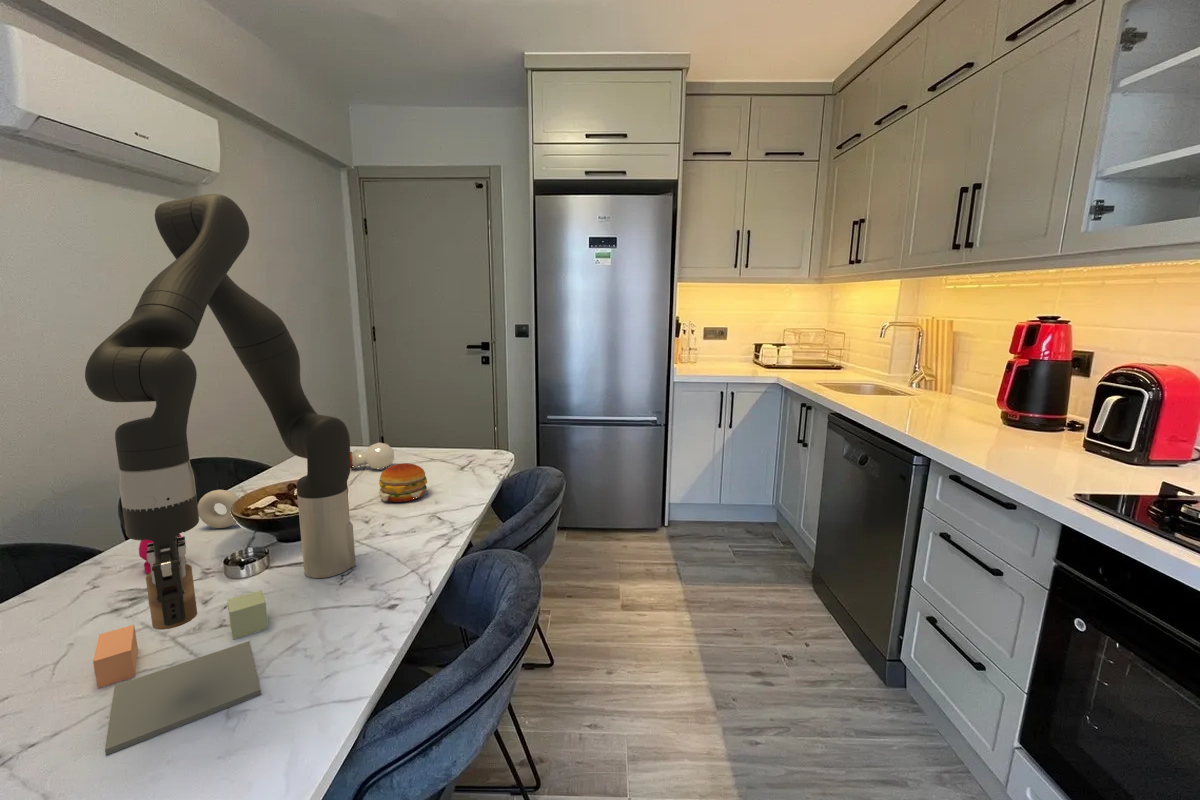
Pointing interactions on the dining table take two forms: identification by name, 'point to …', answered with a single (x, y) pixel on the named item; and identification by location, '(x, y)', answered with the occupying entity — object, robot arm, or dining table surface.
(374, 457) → the potion bottle
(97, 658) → the terracotta brick
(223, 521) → the donut
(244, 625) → the sage cube
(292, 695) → the dining table surface
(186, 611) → the walnut cylinder
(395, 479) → the burger
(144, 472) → the robot arm
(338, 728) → the dining table surface
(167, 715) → the slate mat
